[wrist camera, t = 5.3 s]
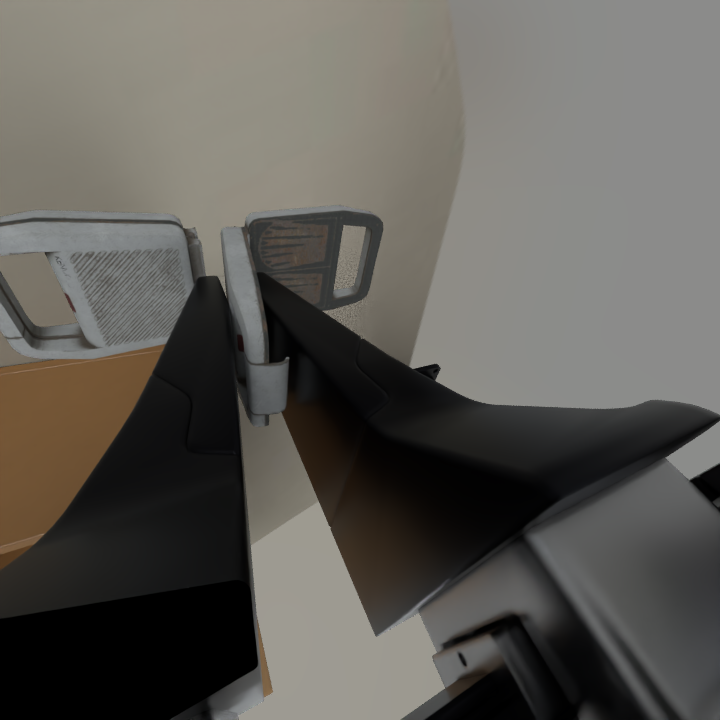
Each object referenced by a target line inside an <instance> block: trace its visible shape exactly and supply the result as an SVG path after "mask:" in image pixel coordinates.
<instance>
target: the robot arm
mask: <svg viewBox="0 0 720 720" xmlns="http://www.w3.org/2000/svg"><path fill="white" fill-rule="evenodd" d="M256 273H257V277H258V281H259V286H260V291H261V296H262V302H263V307H264V312H265V317H266V324H267V331H268V340H269V363H279V362H282V361H284V360H285V359H286V357H289V374H288V391H287V406H286V408H285V410H284V411H282V414H283V417H284V419H285V422H286V424H287V426H288V429H289V431H290V433H291V436H292V438H293V441H294V443H295V445H296V448H297V450H298V453H299V455H300V457H301V460H302V462H303V464H304V467H305V469H306V472H307V474H308V476H309V479H310V481H311V484H312V486H313V488H314V491H315V493H316V495H317V498H318V500H319V503H320V505H321V507H322V509H323V512H324V514H325V517H326V519H327V522H328V524H329V526H330V527H331V531H332V534H333V536H334V539H335V541H336V543H337V546H338V548H339V550H340V553H341V555H342V558H343V560H344V562H345V565H346V567H347V570H348V572H349V574H350V577H351V579H352V581H353V584H354V586H355V589H356V591H357V593H358V596H359V598H360V600H361V603H362V605H363V608H364V610H365V612H366V614H367V617H368V620H369V622H370V624H371V627H372V629H373V631H374V633H375V636H379V635H381V634H382V633H384V632H386V631H388V630H390V629H391V628H393V627H395V626H397V625H398V624H400V623H402V622H404V621H405V620H407V619H409V618H411V617H413V616H414V615H416V614H418V613H420V616H421V618H422V621H423V623H424V625H425V627H426V629H427V631H428V633H429V636H430V638H431V640H432V642H433V645H434V647H435V649H436V651H437V653H436V654H434V655H433V661H434V664H435V666H436V668H437V670H438V673H439V675H440V677H441V679H442V681H443V684H444V686H445V689H444V690H442V691H441V692H440V693H438V694H437V695H435V696H434V697H432V698H431V699H429V700H428V701H427V702H425V703H424V704H422V705H421V706H419V707H418V708H417V709H415V710H414V711H413V712H411V713H410V714H408V715H407V716H405V717H404V718H402V719H401V720H720V463H718V464H716V465H715V466H713V467H711V468H710V469H708V470H706V471H704V472H702V473H701V474H699V475H697V476H695V477H693V478H692V479H690V480H688V479H687V478H686V477H685V476H684V475H683V474H682V473H681V472H680V471H679V470H678V469H676V468H675V467H674V466H673V465H672V464H671V463H670V462H669V461H668V460H667V459H666V458H665V457H667V456H669V455H670V454H671V453H673V452H675V451H676V450H678V449H679V448H681V447H682V446H684V445H685V444H687V443H688V442H690V441H692V440H693V439H695V438H696V437H698V436H699V435H701V434H702V433H703V432H705V431H706V430H708V429H709V428H711V427H712V426H713V425H715V424H716V423H717V422H719V421H720V415H719V414H717V413H714V412H712V411H710V410H707V409H704V408H701V407H699V406H695V405H691V404H686V403H680V402H672V401H662V400H650V401H647V402H644V403H642V404H639V405H636V406H633V407H628V408H617V409H583V408H582V409H581V408H558V407H534V406H533V407H532V406H509V405H492V404H486V403H481V402H477V401H474V400H471V399H469V398H466V397H464V396H462V395H460V394H458V393H456V392H454V391H452V390H450V389H449V388H447V387H445V386H443V385H441V384H440V383H438V382H436V381H435V379H436V377H437V375H438V373H439V371H440V369H441V368H440V367H439V365H438V364H433V365H428V366H424V367H420V368H416V369H412V368H410V367H408V366H407V365H405V364H403V363H401V362H400V361H398V360H396V359H394V358H393V357H391V356H389V355H388V354H386V353H385V352H383V351H382V350H380V349H378V348H377V347H375V346H374V345H372V344H371V343H369V342H368V341H366V340H365V339H361V337H360V336H359V335H357V334H356V333H354V332H353V331H351V330H350V329H348V328H347V327H345V326H344V325H342V324H341V323H339V322H338V321H336V320H335V319H333V318H332V317H330V316H329V315H327V314H326V313H324V312H323V311H321V310H320V309H318V308H317V307H315V306H314V305H312V304H311V303H309V302H308V301H306V300H305V299H303V298H302V297H300V296H299V295H297V294H296V293H294V292H293V291H291V290H290V289H288V288H287V287H285V286H284V285H282V284H281V283H279V282H278V281H276V280H275V279H273V278H272V277H270V276H269V275H267V274H266V273H264V272H256ZM251 557H252V556H251V545H250V533H249V521H248V510H247V498H246V486H245V475H244V463H243V451H242V440H241V428H240V416H239V405H238V393H237V381H236V370H235V359H234V348H233V337H232V326H231V315H230V307H229V304H228V301H227V298H226V296H225V293H224V290H223V288H222V285H221V283H220V280H219V278H218V277H217V276H204V277H199V278H197V280H196V282H195V284H194V286H193V288H192V290H191V293H190V295H189V297H188V299H187V301H186V303H185V305H184V307H183V309H182V311H181V313H180V315H179V317H178V320H177V322H176V324H175V326H174V328H173V330H172V332H171V334H170V336H169V338H168V340H167V342H166V344H165V347H164V349H163V351H162V353H161V355H160V357H159V359H158V361H157V363H156V365H155V367H154V369H153V371H152V375H151V376H150V377H149V379H148V381H147V383H146V386H145V388H144V390H143V392H142V394H141V395H140V397H139V399H138V401H137V403H136V405H135V407H134V408H133V410H132V412H131V414H130V415H129V417H128V418H127V420H126V421H125V423H124V425H123V426H122V428H121V429H120V431H119V432H118V434H117V435H116V437H115V438H114V440H113V441H112V443H111V444H110V446H109V447H108V449H107V450H106V452H105V453H104V455H103V456H102V457H101V459H100V460H99V462H98V463H97V465H96V466H95V468H94V469H93V471H92V472H91V474H90V475H89V477H88V478H87V479H86V481H85V482H84V484H83V485H82V487H81V488H80V490H79V491H78V493H77V494H76V496H75V497H74V499H73V500H72V501H71V503H70V504H69V506H68V507H67V508H66V510H65V511H64V513H63V514H62V515H61V516H60V517H59V519H58V520H57V521H56V522H55V523H54V525H53V526H52V527H51V528H50V529H49V530H48V531H47V532H46V533H45V534H44V535H43V536H42V537H41V538H40V539H39V540H38V541H37V542H36V543H35V544H34V545H33V546H32V547H30V548H29V549H28V550H27V551H25V552H24V553H23V554H21V555H20V556H19V557H17V558H16V559H14V560H13V561H12V562H10V563H9V564H8V565H6V566H5V567H4V568H2V569H1V570H0V720H239V719H238V715H240V714H242V713H244V712H245V711H247V710H249V709H251V708H252V707H254V706H256V705H258V704H259V703H261V702H263V701H264V694H263V685H262V673H261V661H260V650H259V638H258V626H257V615H256V604H255V592H254V580H253V569H252V558H251Z"/></svg>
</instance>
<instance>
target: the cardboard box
mask: <svg viewBox="0 0 720 720" xmlns="http://www.w3.org/2000/svg"><path fill="white" fill-rule="evenodd" d="M164 347H165V344H163V345H158V346H153V347H149V348H144V349H139V350H134V351H129V352H125V353H120V354H115V355H110V356H105V357H101V358H96V359H56V360H49V361H42V362H36V363H29V364H22V365H15V366H8V367H1V368H0V570H1V569H2V568H4V567H5V566H6V565H8V564H9V563H10V562H12V561H13V560H14V559H16V558H17V557H19V556H20V555H21V554H23V553H24V552H25V551H27V550H28V549H29V548H30V547H32V546H33V545H34V544H35V543H36V542H37V541H38V540H39V539H40V538H41V537H42V536H43V535H44V534H45V533H46V532H47V531H48V530H49V529H50V528H51V527H52V526H53V525H54V523H55V522H56V521H57V520H58V519H59V517H60V516H61V515H62V514H63V513H64V511H65V510H66V508H67V507H68V506H69V504H70V503H71V501H72V500H73V499H74V497H75V496H76V494H77V493H78V491H79V490H80V488H81V487H82V485H83V484H84V482H85V481H86V479H87V478H88V477H89V475H90V474H91V472H92V471H93V469H94V468H95V466H96V465H97V463H98V462H99V460H100V459H101V457H102V456H103V455H104V453H105V452H106V450H107V449H108V447H109V446H110V444H111V443H112V441H113V440H114V438H115V437H116V435H117V434H118V432H119V431H120V429H121V428H122V426H123V425H124V423H125V421H126V420H127V418H128V417H129V415H130V414H131V412H132V410H133V408H134V407H135V405H136V403H137V401H138V399H139V397H140V395H141V394H142V392H143V390H144V388H145V386H146V383H147V381H148V379H149V377H150V376H151V375H152V371H153V369H154V367H155V365H156V363H157V361H158V359H159V357H160V355H161V353H162V351H163V349H164Z"/></svg>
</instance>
